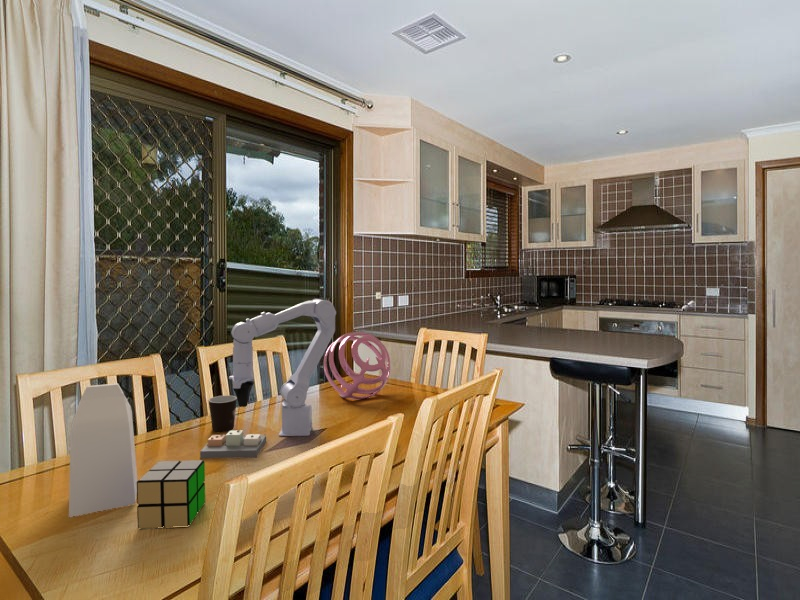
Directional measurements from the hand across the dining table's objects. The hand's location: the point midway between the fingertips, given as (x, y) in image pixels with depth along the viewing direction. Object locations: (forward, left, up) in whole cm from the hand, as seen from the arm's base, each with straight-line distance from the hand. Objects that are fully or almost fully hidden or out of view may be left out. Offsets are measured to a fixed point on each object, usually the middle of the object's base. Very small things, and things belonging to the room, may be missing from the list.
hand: (243, 406), depth 140 cm
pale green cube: (0, +8, -9) cm, 12 cm away
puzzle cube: (+3, +44, -11) cm, 45 cm away
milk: (+21, +36, -11) cm, 43 cm away
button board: (0, +8, -10) cm, 13 cm away
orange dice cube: (+5, +8, -10) cm, 14 cm away
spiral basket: (-34, -47, -11) cm, 59 cm away
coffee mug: (+9, -11, -11) cm, 18 cm away
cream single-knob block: (-5, +8, -10) cm, 14 cm away
